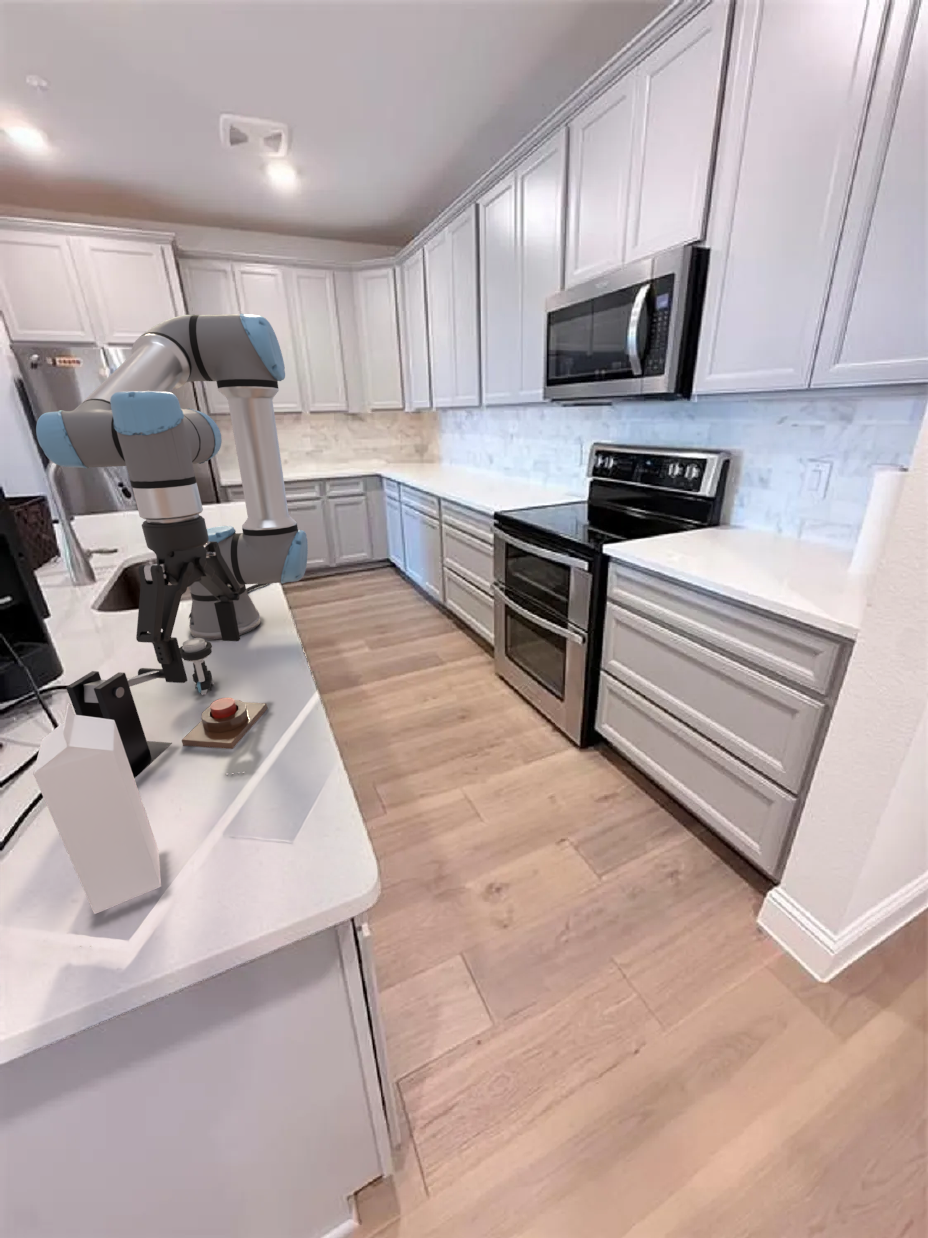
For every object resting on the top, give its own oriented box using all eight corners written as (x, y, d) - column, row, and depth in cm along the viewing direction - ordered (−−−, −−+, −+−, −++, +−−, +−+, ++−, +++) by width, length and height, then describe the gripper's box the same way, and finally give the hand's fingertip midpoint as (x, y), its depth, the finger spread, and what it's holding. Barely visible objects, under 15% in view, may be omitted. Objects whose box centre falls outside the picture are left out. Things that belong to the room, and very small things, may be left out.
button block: (224, 711, 87) (220, 691, 85) (268, 714, 86) (264, 693, 84) (184, 752, 77) (178, 729, 75) (234, 755, 76) (228, 733, 74)
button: (220, 706, 82) (218, 696, 81) (241, 707, 81) (239, 698, 81) (207, 718, 78) (204, 709, 78) (229, 720, 78) (226, 710, 77)
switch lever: (144, 679, 80) (144, 664, 80) (179, 680, 80) (179, 665, 79) (71, 701, 67) (70, 684, 67) (112, 704, 67) (111, 686, 66)
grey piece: (221, 698, 91) (209, 648, 87) (188, 705, 89) (174, 654, 85) (221, 681, 96) (210, 633, 93) (190, 687, 95) (178, 639, 91)
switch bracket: (126, 745, 78) (98, 661, 73) (174, 749, 77) (149, 663, 72) (73, 791, 69) (35, 698, 64) (126, 795, 68) (93, 701, 63)
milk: (161, 856, 59) (107, 691, 50) (164, 895, 54) (105, 721, 46) (98, 880, 56) (30, 710, 48) (95, 924, 51) (19, 743, 43)
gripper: (203, 501, 80) (229, 625, 88) (68, 538, 57) (121, 701, 65) (247, 501, 79) (270, 627, 87) (129, 539, 56) (174, 704, 64)
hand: (206, 659), depth 76 cm, fingers open, 13 cm apart
